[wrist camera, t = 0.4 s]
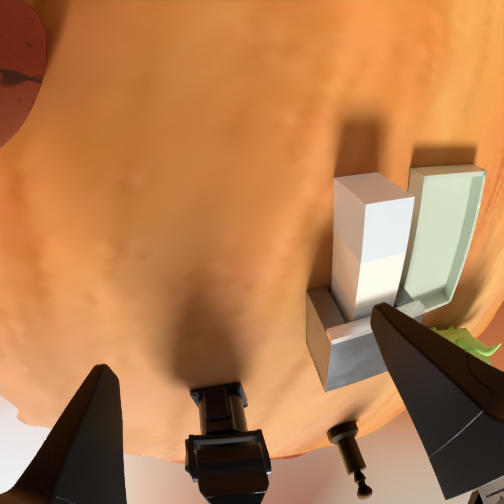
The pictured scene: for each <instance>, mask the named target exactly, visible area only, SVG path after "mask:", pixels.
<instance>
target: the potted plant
mask: <svg viewBox="0 0 504 504" xmlns="http://www.w3.org/2000/svg"><path fill="white" fill-rule="evenodd" d="M45 64H46V37H45V31H44V27H43V24H42V22H41V19H40V17H39V16H38V14H37V13H36V12H35V11H34V10H33V9H32V8H31V7H30V6H29V5H27V4H26V3H25V2H24V1H23V0H0V148H1V147H2V146H3V145H4V144H6V143H7V142H8V141H9V140H10V139H11V138H12V137H13V136H14V135H15V134H16V133H17V131H18V130H19V128H20V127H21V126H22V124H23V123H24V121H25V120H26V118H27V116H28V114H29V112H30V110H31V109H32V107H33V105H34V102H35V99H36V97H37V94H38V92H39V89H40V86H41V83H42V79H43V76H44V72H45Z"/></svg>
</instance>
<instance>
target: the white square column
mask: <svg viewBox="0 0 504 504" xmlns="http://www.w3.org/2000/svg"><path fill="white" fill-rule="evenodd" d="M333 182H334V224H333V261H332V282H331V297H332V299H333V300H334V302H335V304H336V306H337V308H338V310H339V311H340V313H341V315H342V317H343V319H344V321H345V323H349V322H353V321H356V320H359V319H363V318H366V317H369V316H371V314H372V308H373V306H374V305H375V304H379V303H382V302H386V303H388V304H390V305H391V306H394V303H395V299H396V295H397V291H398V287H399V282H400V278H401V274H402V269H403V264H404V260H405V255H406V249H407V244H408V238H409V233H410V227H411V220H412V213H413V206H414V198H415V197H414V196H413V195H412V194H410V193H409V192H407V191H406V190H404V189H403V188H401V187H400V186H398V185H397V184H395V183H394V182H392V181H391V180H389V179H388V178H386V177H384V176H383V175H381V174H380V173H378V172H375V173H366V174H358V175H350V176H342V177H335V178H333Z"/></svg>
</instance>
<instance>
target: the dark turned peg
mask: <svg viewBox="0 0 504 504" xmlns="http://www.w3.org/2000/svg"><path fill="white" fill-rule="evenodd" d="M357 433H358V428H357V425H356V423H355V422H353V421H352V422H346V423H343V424H341V425H338V426H336V427H334V428H333V429H331V430H330V431H328V433H327V436H328V439H329V441H330V443H333V444H337V446H338V448H339V451H340V454H341V456H342V459H343V462H344V465H345V468H346V471H347V473H348V475H350V474H354V480H355V483H357V484H358V486H359V488H358V492H357V496H358V498H359V499H362V500H364V499H367V498H369V497H371V495H372V489H371V488H370V487H369V486H367V485H366V484H365V479H366V478H365V476H364V475H363V473H362V472H361V470H363V469H365V468H366V465H365V463H364V460H363V458H362V455H361V453H360V450H359V447H358V445H357V442H356V440H355V437H356V435H357Z"/></svg>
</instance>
